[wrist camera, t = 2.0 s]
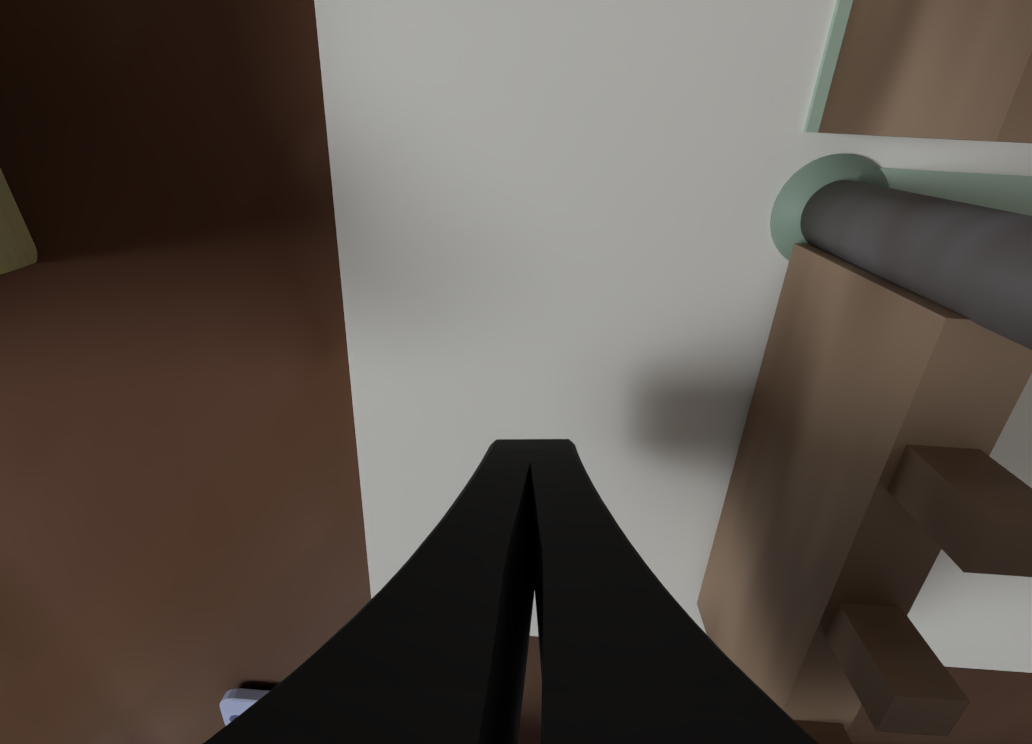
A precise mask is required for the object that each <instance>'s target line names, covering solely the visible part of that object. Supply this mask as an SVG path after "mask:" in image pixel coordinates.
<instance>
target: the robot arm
mask: <svg viewBox="0 0 1032 744" xmlns="http://www.w3.org/2000/svg"><path fill="white" fill-rule="evenodd" d="M534 591H535V600H536V612H537V624H538V636H539V648H540V660H541V672H542V730H541V744H819V743H818V742H817V741H816V740H815V739H813V738H812V737H811V736H810V735H809V734H808V733H807V732H805V731H804V730H803V729H802V728H801V727H800V726H799V725H798V724H797V723H796V722H795V721H794V720H793V719H792V718H791V717H790V716H789V715H788V714H787V713H786V712H785V711H784V710H782V709H781V708H780V707H779V706H778V705H777V704H776V703H775V702H774V701H773V700H772V699H771V698H770V697H769V696H768V695H767V694H766V693H765V692H764V691H763V690H762V689H761V688H759V687H758V686H757V685H756V684H755V683H754V682H753V681H752V680H751V679H750V678H749V677H748V676H747V675H746V674H745V673H744V672H743V671H742V670H741V669H740V668H739V667H738V666H736V665H735V664H734V663H733V662H732V661H731V660H730V659H729V658H728V657H727V656H726V655H725V654H724V652H723V651H722V650H721V649H720V648H719V647H718V646H717V645H716V644H715V643H714V642H713V641H712V640H711V639H710V638H709V636H708V635H707V634H706V633H705V632H704V631H703V630H702V629H701V628H700V627H699V626H698V625H697V624H696V623H695V622H694V620H693V619H692V618H691V617H690V616H689V615H688V614H687V612H686V611H685V610H684V609H683V608H682V607H681V606H680V604H679V603H678V602H677V601H676V600H675V599H674V598H673V596H672V595H671V594H670V593H669V592H668V590H667V589H666V588H665V587H664V586H663V584H662V583H661V582H660V581H659V579H658V578H657V577H656V576H655V574H654V573H653V572H652V571H651V569H650V568H649V567H648V565H647V564H646V563H645V561H644V560H643V559H642V557H641V556H640V555H639V553H638V552H637V551H636V549H635V548H634V547H633V545H632V544H631V543H630V541H629V540H628V538H627V537H626V535H625V534H624V533H623V531H622V530H621V528H620V527H619V525H618V524H617V522H616V521H615V519H614V517H613V516H612V514H611V513H610V511H609V510H608V508H607V507H606V505H605V503H604V502H603V500H602V499H601V497H600V495H599V494H598V492H597V490H596V488H595V487H594V485H593V483H592V481H591V479H590V477H589V476H588V474H587V472H586V470H585V468H584V466H583V464H582V461H581V459H580V457H579V454H578V452H577V449H576V446H575V444H574V443H573V442H572V441H570V440H569V439H496V440H495V441H494V442H493V443H492V444H491V445H490V446H489V448H488V450H487V452H486V454H485V455H484V457H483V459H482V461H481V462H480V464H479V466H478V467H477V469H476V470H475V472H474V474H473V475H472V477H471V478H470V480H469V481H468V483H467V484H466V486H465V487H464V489H463V490H462V491H461V493H460V494H459V496H458V497H457V498H456V500H455V501H454V503H453V504H452V505H451V507H450V508H449V509H448V511H447V512H446V514H445V515H444V516H443V518H442V519H441V520H440V522H439V523H438V524H437V525H436V527H435V528H434V529H433V530H432V532H431V533H430V534H429V535H428V536H427V538H426V539H425V540H424V541H423V542H422V544H421V545H420V546H419V547H418V549H417V550H416V551H415V552H414V553H413V555H412V556H411V557H410V558H409V559H408V561H407V562H406V563H405V564H404V565H403V566H402V567H401V568H400V570H399V571H398V572H397V573H396V574H395V575H394V576H393V577H392V578H391V579H390V580H389V582H388V583H387V584H386V585H385V586H384V587H383V588H382V589H381V590H380V591H379V592H378V593H377V594H376V595H375V596H374V597H373V598H372V599H371V600H370V601H369V602H368V603H367V604H366V605H365V606H364V607H363V608H362V609H361V610H360V611H359V612H358V613H357V614H356V615H355V616H354V617H353V618H352V619H351V620H350V621H349V622H348V623H347V624H346V625H344V626H343V627H342V628H341V629H340V630H339V631H338V632H337V633H336V634H335V635H334V636H333V637H332V638H330V639H329V640H328V641H327V642H326V643H325V644H324V645H323V646H322V647H321V648H320V649H319V650H317V651H316V652H315V653H314V654H313V655H312V656H311V657H310V658H309V659H307V660H306V661H305V662H304V663H303V664H302V665H300V666H299V667H298V668H297V669H296V670H295V671H294V672H292V673H291V674H290V675H289V676H288V677H286V678H285V679H284V680H283V681H282V682H281V683H279V684H278V685H277V686H276V687H274V688H273V689H272V690H270V691H269V690H256V689H243V688H234V689H231V690H229V691H227V692H226V694H225V695H224V697H223V699H222V701H221V702H220V710H221V713H222V716H223V719H224V723H225V727H224V728H223V729H221V730H220V731H219V732H218V733H216V734H215V735H214V736H213V737H211V738H210V739H209V740H207V741H206V742H205V743H203V744H518V736H519V725H520V716H521V707H522V698H523V689H524V680H525V671H526V663H527V654H528V645H529V636H530V627H531V618H532V609H533V600H534Z"/></svg>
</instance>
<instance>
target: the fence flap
mask: <svg viewBox="0 0 1032 744" xmlns="http://www.w3.org/2000/svg"><path fill="white" fill-rule="evenodd" d="M800 226H801V232H802V235H803V237H804V239H805V240H806V241H807V242H808V243H809V244H801V243H794V244H793V248H792V252H791V256H790V259H789V263H788V267H787V270H786V274H785V278H784V282H783V285H782V289H781V293H780V296H779V300H778V304H777V307H776V311H775V315H774V319H773V322H772V326H771V330H770V333H769V337H768V341H767V345H766V348H765V352H764V356H763V359H762V363H761V367H760V370H759V374H758V378H757V382H756V385H755V389H754V393H753V396H752V400H751V404H750V408H749V411H748V415H747V419H746V422H745V426H744V430H743V434H742V437H741V441H740V445H739V448H738V452H737V456H736V459H735V463H734V467H733V471H732V474H731V478H730V482H729V485H728V489H727V493H726V497H725V500H724V504H723V508H722V511H721V515H720V519H719V522H718V526H717V530H716V534H715V537H714V541H713V545H712V548H711V552H710V556H709V560H708V563H707V567H706V571H705V574H704V578H703V582H702V585H701V589H700V593H699V597H698V600H697V606H698V609H699V612H700V615H701V618H702V621H703V625H704V628H705V631H706V634H707V635H708V636H709V638H710V639H711V640H712V641H713V642H714V643H715V644H716V645H717V646H718V647H719V648H720V649H721V650H722V651H723V652H724V654H725V655H726V656H727V657H728V658H729V659H730V660H731V661H732V662H733V663H734V664H735V665H736V666H738V667H739V668H740V669H741V670H742V671H743V672H744V673H745V674H746V675H747V676H748V677H749V678H750V679H751V680H752V681H753V682H754V683H755V684H756V685H757V686H758V687H759V688H761V689H762V690H763V691H764V692H765V693H766V694H767V695H768V696H769V697H770V698H771V699H772V700H773V701H774V702H775V703H776V704H777V705H778V706H779V707H780V708H781V709H782V710H784V711H785V712H786V713H787V714H788V715H789V716H790V717H791V718H792V719H793V720H794V721H795V722H796V723H797V724H798V725H799V726H800V727H801V728H802V729H803V730H804V731H805V732H807V733H808V734H809V735H810V736H811V737H812V738H813V739H815V740H816V741H817V742H818V743H819V744H852V742H851V740H850V738H849V736H848V734H847V732H848V730H849V728H850V726H851V724H852V722H853V720H854V718H855V716H856V714H857V712H858V710H859V709H860V707H861V705H862V706H863V708H864V709H865V711H866V713H867V715H868V717H869V719H870V720H871V722H872V724H873V726H874V728H875V730H876V731H883V732H896V733H909V734H923V735H936V736H948V735H949V733H950V732H951V730H952V728H953V727H954V725H955V724H956V722H957V721H958V719H959V718H960V716H961V715H962V713H963V712H964V710H965V708H966V707H967V705H968V704H969V702H970V701H969V700H968V698H967V697H966V696H965V694H964V693H963V691H962V690H961V689H960V687H959V686H958V685H957V683H956V682H955V681H954V679H953V678H952V676H951V675H950V674H949V672H948V671H947V670H946V668H945V667H944V666H943V664H942V663H941V661H940V660H939V659H938V657H937V656H936V655H935V653H934V652H933V651H932V649H931V648H930V646H929V645H928V644H927V642H926V641H925V640H924V638H923V637H922V636H921V634H920V633H919V631H918V630H917V629H916V627H915V626H914V625H913V623H912V622H911V621H910V619H909V618H908V616H907V615H908V613H909V611H910V609H911V607H912V605H913V603H914V601H915V599H916V598H917V596H918V594H919V592H920V590H921V588H922V586H923V584H924V582H925V580H926V578H927V576H928V574H929V572H930V570H931V568H932V566H933V564H934V563H935V561H936V559H937V557H938V555H939V553H940V551H941V549H942V550H943V551H944V552H945V553H946V554H947V555H948V556H949V557H950V558H951V559H952V560H953V562H954V563H955V564H956V565H957V566H958V567H959V568H960V569H961V570H962V571H963V572H965V573H980V574H994V575H1008V576H1023V577H1032V488H1031V487H1029V486H1028V485H1027V484H1025V483H1024V482H1023V481H1021V480H1020V479H1019V478H1018V477H1016V476H1015V475H1014V474H1012V473H1011V472H1010V471H1008V470H1007V469H1006V468H1004V467H1003V466H1002V465H1000V464H999V463H998V462H996V461H995V460H994V459H992V458H991V457H990V456H989V455H990V453H991V452H992V450H993V448H994V446H995V444H996V442H997V440H998V438H999V436H1000V434H1001V432H1002V430H1003V428H1004V426H1005V424H1006V422H1007V420H1008V418H1009V416H1010V415H1011V413H1012V411H1013V409H1014V407H1015V405H1016V403H1017V401H1018V399H1019V397H1020V395H1021V393H1022V391H1023V389H1024V387H1025V385H1026V383H1027V381H1028V379H1029V378H1030V376H1031V374H1032V216H1029V215H1024V214H1019V213H1014V212H1009V211H1003V210H998V209H993V208H988V207H983V206H978V205H973V204H968V203H963V202H958V201H953V200H948V199H943V198H938V197H933V196H928V195H922V194H917V193H912V192H907V191H902V190H897V189H892V188H887V187H882V186H877V185H872V184H867V183H862V182H857V181H852V180H839V181H835V182H831V183H829V184H827V185H825V186H823V187H822V188H820V189H819V190H818V191H816V192H815V193H814V194H813V195H812V196H811V198H810V199H809V200H808V202H807V203H806V205H805V207H804V209H803V212H802V215H801V222H800Z"/></svg>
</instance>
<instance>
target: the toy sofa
mask: <svg viewBox="0 0 1032 744" xmlns="http://www.w3.org/2000/svg"><path fill="white" fill-rule="evenodd" d="M36 262H37V249H36V247H35V244H34V242H33V240H32V238H31V235H30V233H29V231H28V229H27V226H26V224H25V222H24V220H23V217H22V215H21V213H20V211H19V209H18V206H17V204H16V202H15V200H14V197H13V195H12V193H11V191H10V188H9V186H8V184H7V182H6V179H5V177H4V175H3V173H2V170H1V168H0V275H1V274H5V273H8V272H11V271H15V270H18V269H21V268H23V267H26V266H28V265H31V264H34V263H36Z"/></svg>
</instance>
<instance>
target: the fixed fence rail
mask: <svg viewBox="0 0 1032 744" xmlns="http://www.w3.org/2000/svg"><path fill="white" fill-rule="evenodd" d="M818 133H834V134H853V135H871V136H890V137H911V138H932V139H952V140H973V141H993V142H1014V143H1032V0H853V2H852V6H851V10H850V14H849V18H848V21H847V25H846V29H845V33H844V36H843V40H842V44H841V48H840V51H839V55H838V59H837V63H836V67H835V70H834V74H833V78H832V82H831V85H830V89H829V93H828V97H827V100H826V104H825V108H824V112H823V115H822V119H821V123H820V127H819V131H818Z"/></svg>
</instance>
